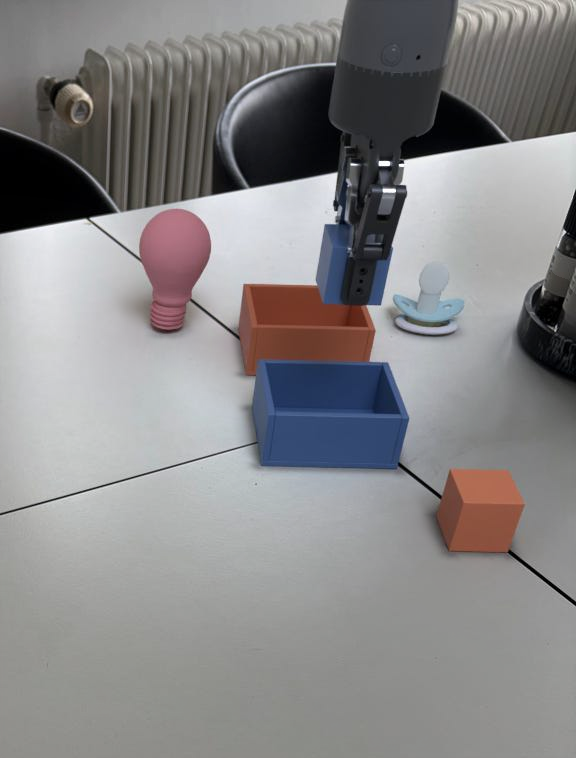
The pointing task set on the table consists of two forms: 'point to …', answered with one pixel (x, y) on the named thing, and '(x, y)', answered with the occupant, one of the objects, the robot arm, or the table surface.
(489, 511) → the terracotta block
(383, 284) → the blue block
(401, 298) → the pacifier
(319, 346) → the terracotta bin
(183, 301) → the light bulb
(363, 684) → the table surface
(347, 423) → the blue bin
